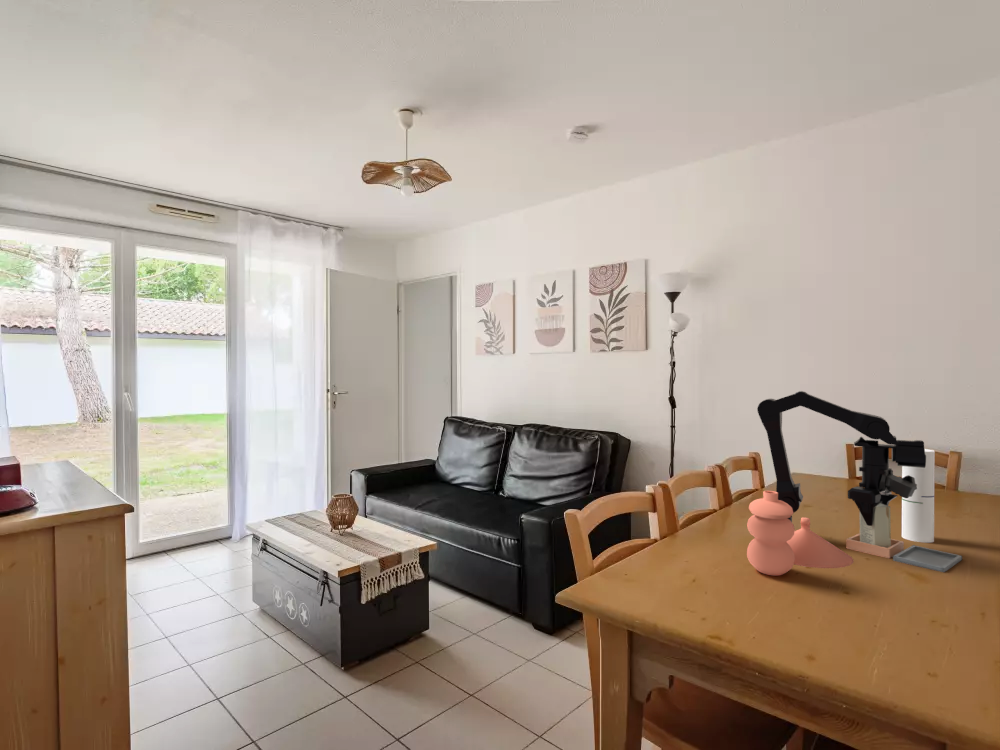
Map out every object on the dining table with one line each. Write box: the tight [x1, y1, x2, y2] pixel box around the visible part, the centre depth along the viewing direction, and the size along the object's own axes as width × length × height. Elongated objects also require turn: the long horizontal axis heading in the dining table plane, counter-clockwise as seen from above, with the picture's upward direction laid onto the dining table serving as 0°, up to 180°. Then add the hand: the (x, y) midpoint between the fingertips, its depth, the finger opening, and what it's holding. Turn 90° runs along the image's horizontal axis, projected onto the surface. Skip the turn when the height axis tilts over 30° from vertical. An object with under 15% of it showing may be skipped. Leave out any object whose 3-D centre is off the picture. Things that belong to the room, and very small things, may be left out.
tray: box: [892, 544, 963, 573], centre depth 132 cm, size 14×10×1 cm
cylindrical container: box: [901, 448, 936, 544], centre depth 149 cm, size 7×7×25 cm
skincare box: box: [859, 503, 892, 548], centre depth 140 cm, size 6×4×12 cm
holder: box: [845, 532, 905, 559], centre depth 140 cm, size 10×10×2 cm
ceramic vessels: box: [746, 490, 854, 576], centre depth 133 cm, size 35×21×19 cm, turn 129°
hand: (874, 523), depth 140 cm, fingers closed on skincare box, 7 cm apart
